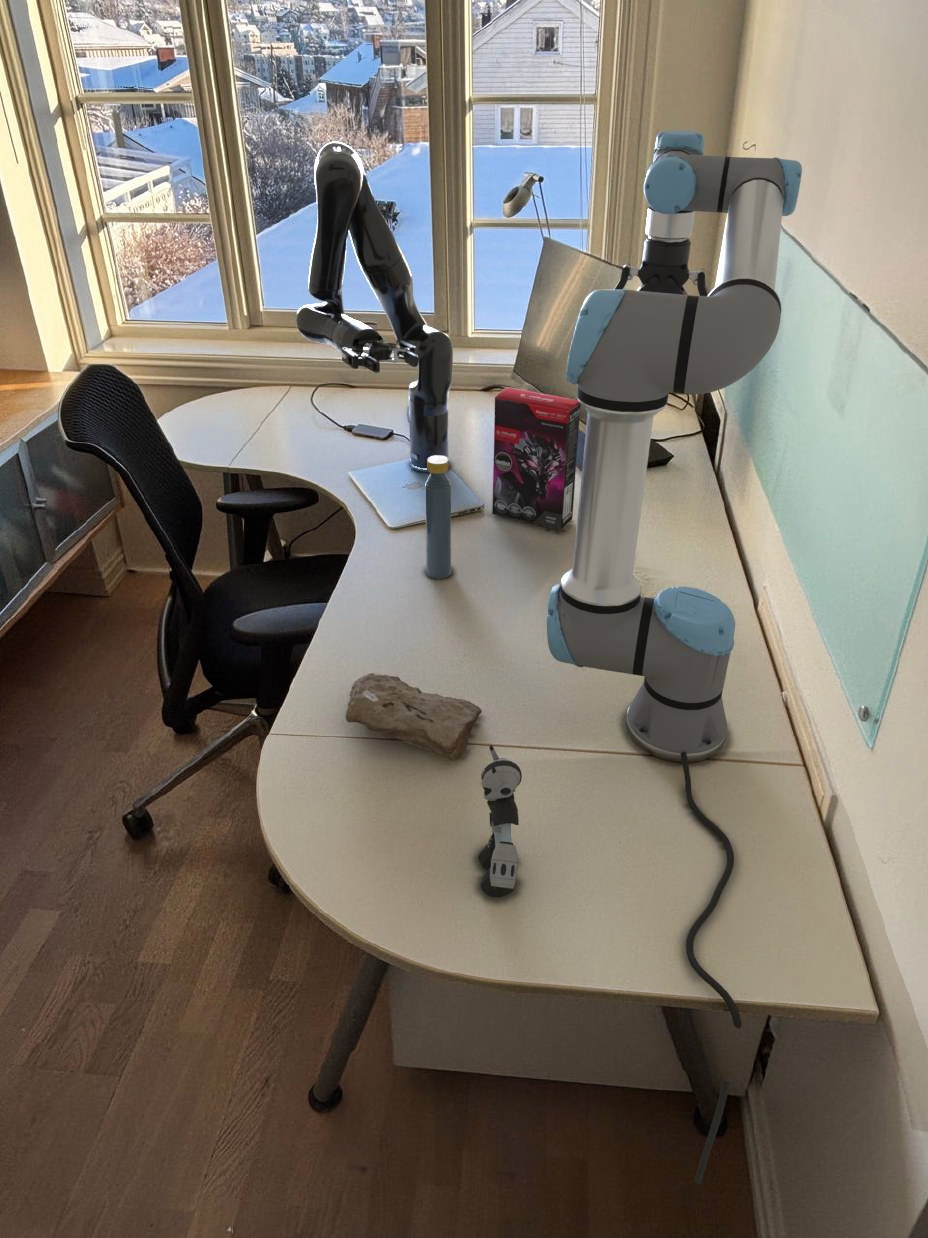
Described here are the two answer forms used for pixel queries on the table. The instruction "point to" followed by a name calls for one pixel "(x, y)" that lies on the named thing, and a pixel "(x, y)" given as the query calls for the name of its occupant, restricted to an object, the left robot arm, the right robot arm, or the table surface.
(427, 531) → the bottle
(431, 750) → the stone
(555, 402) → the graphics card box
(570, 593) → the right robot arm
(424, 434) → the left robot arm
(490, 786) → the robot
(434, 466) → the cap
